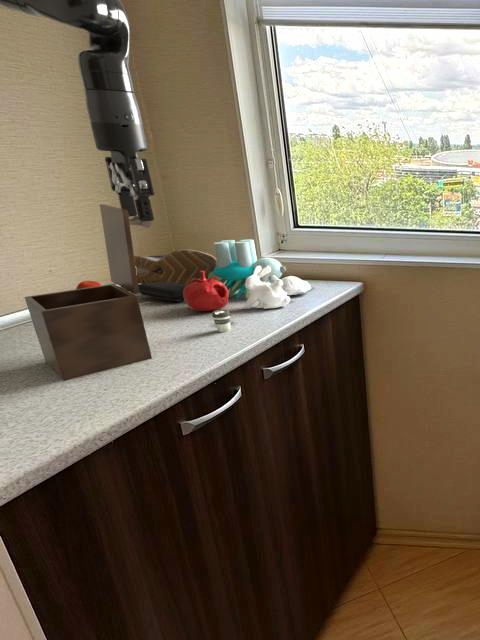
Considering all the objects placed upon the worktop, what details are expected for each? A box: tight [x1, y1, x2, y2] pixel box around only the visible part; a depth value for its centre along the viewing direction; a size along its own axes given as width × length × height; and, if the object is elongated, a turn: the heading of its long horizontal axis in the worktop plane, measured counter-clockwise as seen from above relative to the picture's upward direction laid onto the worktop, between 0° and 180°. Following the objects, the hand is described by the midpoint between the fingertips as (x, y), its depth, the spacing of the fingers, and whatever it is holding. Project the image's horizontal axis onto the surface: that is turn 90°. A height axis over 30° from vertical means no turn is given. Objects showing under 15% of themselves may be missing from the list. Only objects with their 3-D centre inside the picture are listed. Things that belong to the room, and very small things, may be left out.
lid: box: [99, 203, 153, 295], centre depth 95 cm, size 14×13×5 cm
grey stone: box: [280, 275, 312, 296], centre depth 138 cm, size 9×8×5 cm
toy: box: [208, 238, 287, 301], centre depth 137 cm, size 12×22×15 cm, turn 95°
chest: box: [24, 283, 153, 382], centre depth 93 cm, size 14×13×13 cm
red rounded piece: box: [75, 280, 102, 289], centre depth 123 cm, size 6×6×8 cm
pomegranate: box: [183, 271, 229, 312], centre depth 125 cm, size 10×10×9 cm
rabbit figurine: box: [238, 266, 291, 310], centre depth 127 cm, size 12×8×10 cm, turn 90°
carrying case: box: [138, 282, 187, 302], centre depth 136 cm, size 11×3×15 cm
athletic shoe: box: [134, 248, 218, 285], centre depth 149 cm, size 11×28×12 cm
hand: (138, 218), depth 94 cm, fingers open, 8 cm apart
